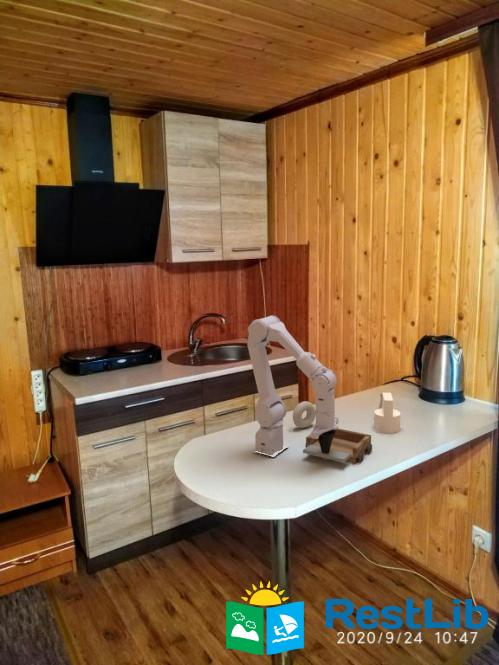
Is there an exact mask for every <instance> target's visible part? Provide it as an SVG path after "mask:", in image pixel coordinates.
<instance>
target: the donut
mask: <svg viewBox="0 0 499 665" xmlns="http://www.w3.org/2000/svg"><path fill="white" fill-rule="evenodd" d="M305 411H306V415H305V417H304V418H303V414H304V412H305ZM315 420H316V407H315V405H314V404H313V403H311V402H310V401H305V400H304V401H300V402H299V403H298V404H297V405H296V406H295V408H294V410H293V412H292V421H293V423H294V425H295V427H298V428H300V429H305V427H306V428H308V427H310V426H312V424H313V423H314V421H315Z"/></svg>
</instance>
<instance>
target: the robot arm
mask: <svg viewBox="0 0 499 665" xmlns="http://www.w3.org/2000/svg"><path fill="white" fill-rule="evenodd" d="M247 332H248V337H247V349H248V354H249V358H250V361H251V362H250V364H251V367H252V372H253V375H254V380H255V383H256V388H257V392H258V396H259V398H258V400H257V403H256V405H255V406H256V407H255V408H256V413H255V415H256V418H255V419H256V421H257V423H258V424H259V429H258V430H257V431H256V433H255V436H254V437H255V440H254V441H255V450H256V451H258V452H261V453H265V454H268V455H273V454H274V453H275V452H277V451H280V450H282V449H283V445H284V418H285V417H286V415H287V407H286V405H285V404H284V402H283V400H282V396H280V395H279V394H277V392H276V387H275V383H274V380H273V376H272V375H273V374H272V370H271V366H270V362H269V357H268V354H267V349H266V346H267V345H268V344H269V342H277V343H279V344H280V345H281V346H282V347H283V349H285V351H287V352H288V353H289V354H290V355H291V356H292V357H294V359H296V362H295V363H296V366H297V367H298V368H299V370H301V371H302V373H303V374H304V375H305V376H306V377H307V378H308V379H309V380H310V381H311V383H310V384H311V388H312V389H313V391H314V397H315V399H314V400H315V405H314V407H315V411H316V415H315V424H314V426H313V429H312V430H311V432H310V434H311V438H314V439H318V441H319V444H320V447H321V451H322V453H326V454H328V453H329V452H330V448H331V443H332V440H333V437H334V435H335V434H336V429H339V425H338V424H339V417H337V416H336V415H335V410H336V409H335V405H336V403H335V399H336V398H335V387H336V385H337V384H338V376H337V374H336V373H335V371H334V370H332V369H329V368H327V367H326V366H324V365H323V364H322V363H321V362H320V361H319V360H318V359H317V355H315V353H313V354H312V353H311V352H310V351H309V352H308V351H304V349H303V348H302V347H301V346H300V345H299V343H298V342H297V341H296V339H295V338H294V337H293V336H292V334H290V332H289V331H288V330H287V328H286V326H285V323H284V322H282V321H281V320H280V318H279V317H277V315H268V316H266V317H262V318H259V319H258V318H257V319H254V320H253V321H252V322H251V323H250V324H249V326H248V327H247Z"/></svg>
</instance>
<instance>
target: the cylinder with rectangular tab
mask: <svg viewBox="0 0 499 665" xmlns="http://www.w3.org/2000/svg"><path fill="white" fill-rule="evenodd" d="M381 393H382V409H378V408H377V409H375V410H374V412H373V414H374V415H373V416H374V417H373V419H374V421H373V425H374V427H373V428H374V430H375V431H377V432H378V433H382V434H395V433H398V432H400V431H401V411H399V410H397V409H394V399H393V396H392V392H381Z"/></svg>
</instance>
